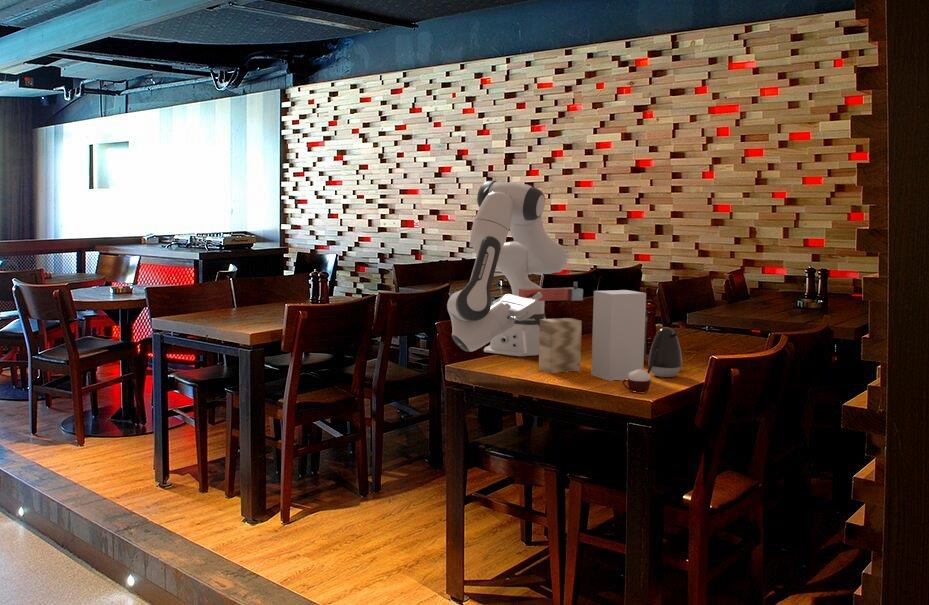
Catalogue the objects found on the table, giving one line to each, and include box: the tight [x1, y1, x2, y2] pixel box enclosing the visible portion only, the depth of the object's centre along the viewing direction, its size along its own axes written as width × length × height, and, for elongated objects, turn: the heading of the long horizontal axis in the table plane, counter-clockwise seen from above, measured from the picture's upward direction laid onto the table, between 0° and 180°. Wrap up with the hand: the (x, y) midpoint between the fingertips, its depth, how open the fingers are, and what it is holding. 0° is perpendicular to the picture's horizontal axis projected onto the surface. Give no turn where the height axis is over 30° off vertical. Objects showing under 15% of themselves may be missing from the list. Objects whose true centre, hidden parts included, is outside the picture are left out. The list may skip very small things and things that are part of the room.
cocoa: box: [622, 349, 658, 393], centre depth 241 cm, size 10×6×12 cm, turn 65°
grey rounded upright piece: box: [647, 326, 683, 378], centre depth 264 cm, size 10×10×15 cm
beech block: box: [538, 317, 583, 374], centre depth 271 cm, size 11×7×16 cm, turn 113°
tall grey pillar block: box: [590, 289, 647, 382], centre depth 261 cm, size 12×10×26 cm
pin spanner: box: [519, 281, 584, 302], centre depth 267 cm, size 20×6×6 cm, turn 113°
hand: (536, 293), depth 265 cm, fingers closed on pin spanner, 3 cm apart
